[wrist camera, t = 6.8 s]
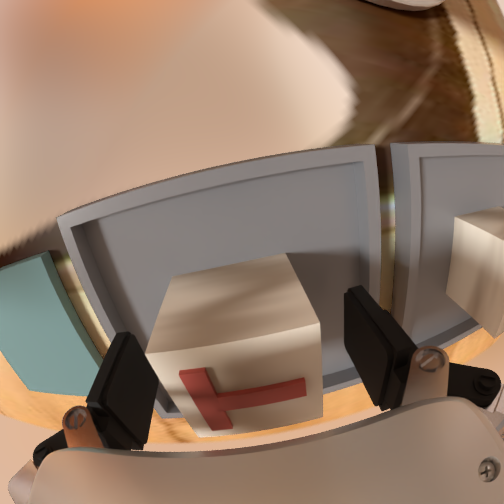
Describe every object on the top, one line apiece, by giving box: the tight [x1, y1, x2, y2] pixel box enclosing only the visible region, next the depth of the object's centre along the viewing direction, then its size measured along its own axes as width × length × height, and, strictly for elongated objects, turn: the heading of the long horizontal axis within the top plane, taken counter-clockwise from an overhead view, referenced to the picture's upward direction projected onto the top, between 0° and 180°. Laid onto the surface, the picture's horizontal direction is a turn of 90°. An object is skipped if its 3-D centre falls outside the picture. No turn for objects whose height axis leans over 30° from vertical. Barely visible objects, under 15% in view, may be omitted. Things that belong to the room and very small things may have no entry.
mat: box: [0, 251, 103, 396], centre depth 12 cm, size 10×10×1 cm
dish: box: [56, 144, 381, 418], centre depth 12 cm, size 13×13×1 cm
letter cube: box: [145, 253, 323, 437], centre depth 10 cm, size 5×5×5 cm
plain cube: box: [445, 206, 504, 339], centre depth 10 cm, size 5×5×5 cm
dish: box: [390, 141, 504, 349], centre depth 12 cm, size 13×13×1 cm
